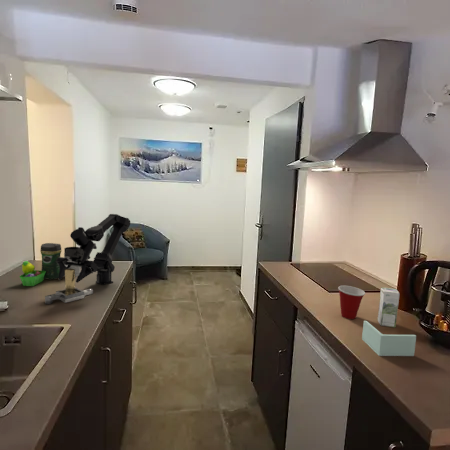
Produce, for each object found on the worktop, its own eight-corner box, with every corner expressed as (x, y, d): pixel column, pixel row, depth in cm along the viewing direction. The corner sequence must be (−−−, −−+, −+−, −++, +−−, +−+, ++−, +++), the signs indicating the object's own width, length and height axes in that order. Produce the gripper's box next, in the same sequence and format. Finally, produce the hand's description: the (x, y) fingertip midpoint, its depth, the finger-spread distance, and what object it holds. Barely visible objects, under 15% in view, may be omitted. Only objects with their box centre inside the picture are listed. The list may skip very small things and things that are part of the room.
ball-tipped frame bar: (87, 290, 164) (87, 284, 164) (97, 294, 159) (97, 288, 158) (41, 301, 148) (40, 294, 147) (50, 306, 142) (49, 299, 142)
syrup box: (392, 322, 140) (395, 288, 138) (395, 328, 135) (399, 292, 133) (377, 320, 142) (380, 286, 140) (380, 326, 136) (384, 290, 134)
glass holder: (61, 274, 189) (60, 247, 187) (86, 270, 199) (86, 244, 197) (67, 277, 183) (66, 250, 181) (93, 273, 193) (93, 247, 191)
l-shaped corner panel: (413, 357, 113) (416, 336, 112) (378, 357, 112) (381, 335, 111) (393, 340, 125) (395, 321, 124) (361, 340, 124) (363, 320, 123)
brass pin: (69, 296, 156) (68, 268, 154) (77, 297, 155) (76, 268, 153) (63, 298, 152) (62, 270, 150) (71, 299, 151) (70, 271, 149)
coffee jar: (64, 276, 185) (64, 242, 183) (55, 280, 177) (55, 245, 175) (48, 275, 186) (47, 241, 184) (38, 279, 178) (37, 244, 176)
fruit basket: (34, 287, 166) (34, 264, 164) (16, 286, 166) (15, 263, 164) (46, 280, 177) (46, 259, 176) (29, 279, 177) (28, 258, 176)
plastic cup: (360, 324, 137) (362, 295, 136) (332, 317, 143) (335, 289, 141) (365, 315, 146) (367, 288, 145) (339, 309, 152) (341, 283, 150)
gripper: (58, 239, 156) (39, 269, 147) (93, 243, 151) (76, 273, 142) (70, 253, 165) (54, 281, 156) (104, 257, 160) (89, 286, 151)
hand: (67, 280), depth 151 cm, fingers open, 9 cm apart
